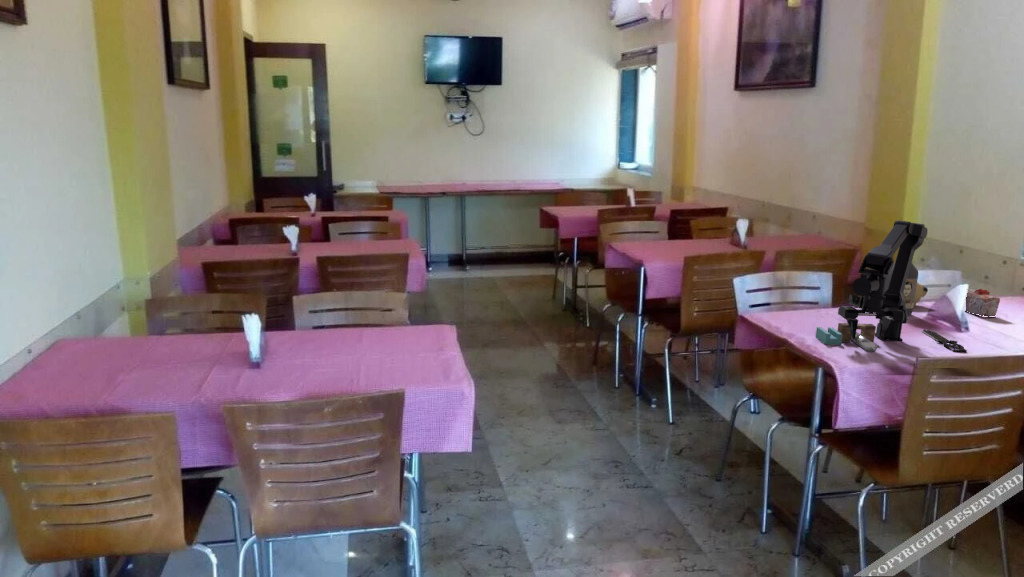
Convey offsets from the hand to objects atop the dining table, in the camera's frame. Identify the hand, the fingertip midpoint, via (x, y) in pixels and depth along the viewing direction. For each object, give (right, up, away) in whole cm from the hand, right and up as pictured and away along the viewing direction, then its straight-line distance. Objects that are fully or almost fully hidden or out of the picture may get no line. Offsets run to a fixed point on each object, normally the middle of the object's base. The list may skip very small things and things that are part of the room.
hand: (867, 339), depth 245 cm
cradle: (-10, -1, +7) cm, 12 cm away
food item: (+65, +6, +49) cm, 82 cm away
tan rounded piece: (+44, +9, +60) cm, 75 cm away
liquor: (+33, +7, +47) cm, 57 cm away
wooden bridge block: (0, -1, +8) cm, 8 cm away
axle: (0, -2, +5) cm, 5 cm away
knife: (+30, -2, +12) cm, 32 cm away
